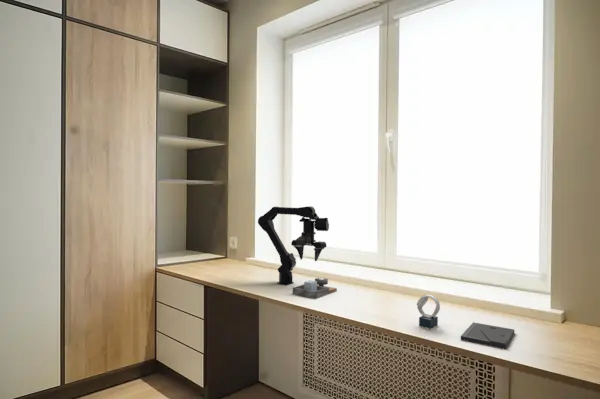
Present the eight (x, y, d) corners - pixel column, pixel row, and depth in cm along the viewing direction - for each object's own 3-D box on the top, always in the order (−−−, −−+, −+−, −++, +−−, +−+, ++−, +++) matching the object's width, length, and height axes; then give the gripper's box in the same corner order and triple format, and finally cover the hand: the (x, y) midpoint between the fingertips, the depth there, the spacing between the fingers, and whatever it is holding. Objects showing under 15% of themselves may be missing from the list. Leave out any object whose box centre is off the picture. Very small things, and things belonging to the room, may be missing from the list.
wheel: (312, 283, 197) (312, 279, 197) (319, 281, 202) (319, 276, 202) (323, 285, 194) (323, 280, 194) (330, 283, 199) (330, 278, 199)
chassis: (292, 294, 191) (292, 287, 190) (313, 287, 205) (313, 281, 205) (316, 298, 182) (316, 291, 182) (336, 291, 197) (336, 284, 197)
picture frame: (506, 351, 124) (514, 335, 138) (506, 343, 124) (514, 328, 138) (460, 341, 131) (473, 327, 146) (460, 334, 131) (473, 321, 146)
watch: (421, 321, 150) (422, 292, 150) (442, 326, 145) (442, 295, 145) (414, 324, 147) (414, 294, 146) (434, 329, 141) (435, 298, 141)
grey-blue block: (304, 294, 190) (304, 282, 190) (309, 292, 194) (310, 280, 194) (311, 295, 188) (311, 283, 188) (316, 293, 192) (317, 281, 192)
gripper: (285, 230, 209) (284, 260, 209) (314, 232, 198) (314, 264, 198) (297, 229, 218) (297, 257, 218) (327, 231, 207) (326, 261, 207)
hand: (308, 260), depth 210 cm, fingers open, 9 cm apart
